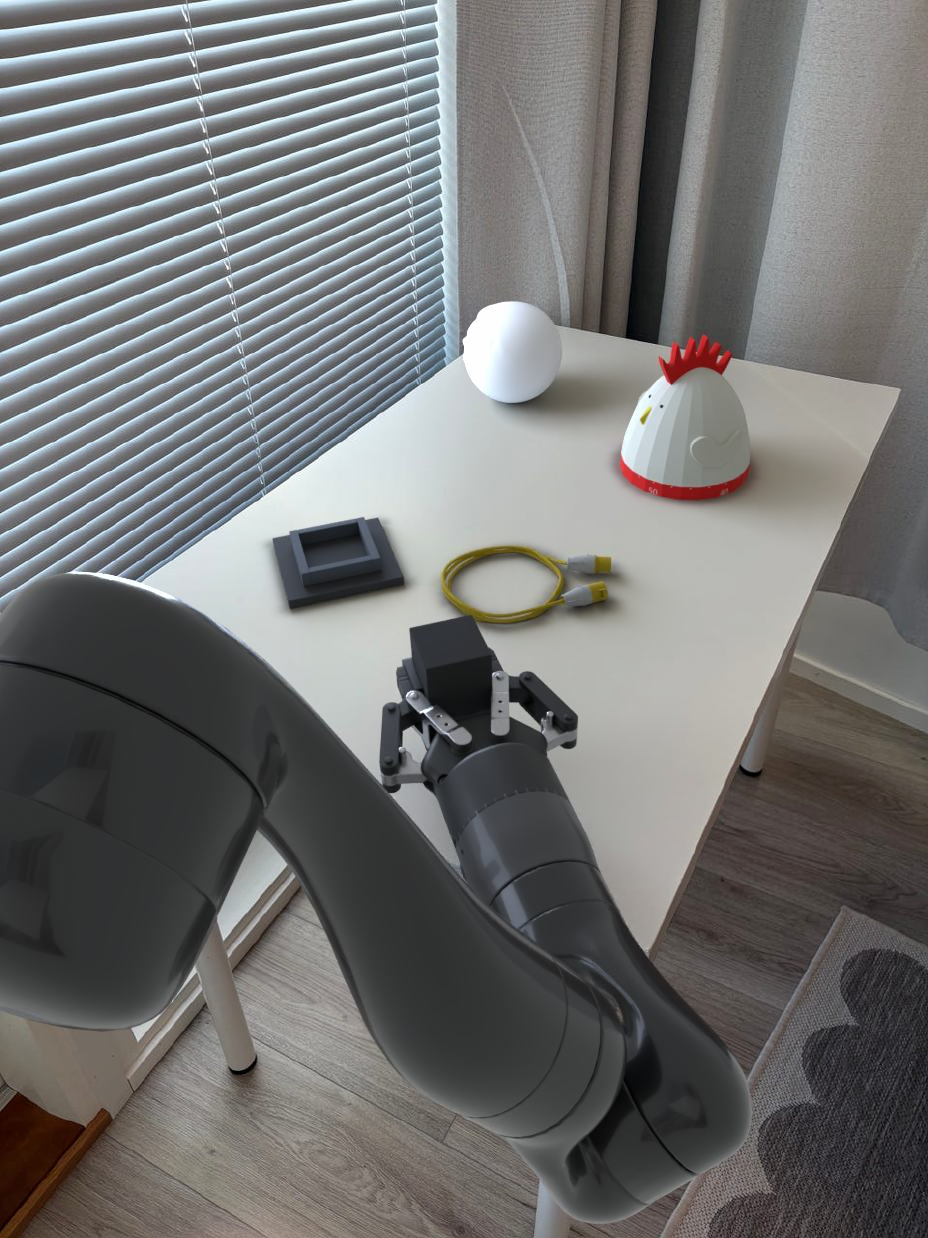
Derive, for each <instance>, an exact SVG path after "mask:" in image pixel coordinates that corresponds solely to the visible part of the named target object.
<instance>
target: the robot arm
mask: <svg viewBox="0 0 928 1238" xmlns="http://www.w3.org/2000/svg"><path fill="white" fill-rule="evenodd" d="M488 648H489V650H490V652H491V654H492V685H491V708H490V709H486V710H482V711H479V712H477V713H474V714H472V715H470V716H457V717H452V718H451V717H450V716H449V715H448V714H447V713H446V712H445V711H444V710H443V708H442V707H441V706H439V705H438V704H437V705H434V704H433V703H432V702H431V701H430V700H428V698H427V697H426V696H425V695H424V691H423V686H422V684H421V681H420V678H419V676H418V673H417V671H416V668H415V666H414V663H413V661H412V656H411V657H406V658H402V659H401V666H397V667H396V670H395V677H396V685H397V690H398V693H399V695H400V698H401V701H399V702H398V703H397V702H395V701H391V702H387V703H385V704H384V705H383V706H382V710H381V712H382V713H381V726H380V730H381V731H380V741H379V742H380V743H379V761H378V763H379V764H378V765H379V770H380V779H381V782H380V781H379V780H378V779H377V778H376V777H375V775H374V774H373V773H372V772H371V771H370V770H369V769H368V768H367V767H366V766H365V765H364V764H363V762H362V761H361V760H360V759H359V757H357V755H355V754H354V752H353V751H352V750H351V749H350V747H348V746H347V745H346V743H345V742H344V741H343V740H342V739H341V738H340V736H339V735H338V734H337V733H336V732H335V731H334V730H333V729H332V728H331V726H330V725H329V724H328V723H327V722H326V721H325V720H324V718H323V717H321V715H320V714H319V713H318V712H317V711H316V710H315V709H314V707H313V706H312V705H311V704H310V703H309V702H308V701H307V700H306V699H305V698H304V697H303V695H301V693H300V692H298V690H297V689H296V688H295V687H294V686H293V685H292V684H291V683H290V682H289V681H288V680H287V679H286V677H284V676H283V675H281V673H280V672H278V670H276V669H275V667H273V666H272V665H271V664H270V663H269V662H268V661H267V660H266V659H264V658H263V657H262V656H261V655H260V654H258V653H257V652H256V651H255V650H254V649H253V648H252V647H250V646H249V645H248V644H247V643H246V642H244V641H243V640H242V639H241V638H240V637H238V636H237V635H236V634H234V632H232V631H231V630H230V629H228V628H227V627H226V626H224V625H223V624H221V623H219V622H218V621H216V620H214V618H211V617H210V616H209V615H207V614H205V613H203V612H202V611H200V610H199V609H197V608H196V607H193V606H192V605H190V604H189V603H187V602H185V601H184V600H182V599H180V598H178V597H176V596H173V595H171V594H169V593H167V592H164V591H162V590H159V589H157V588H155V587H153V586H151V585H148V584H146V583H143V582H139V581H137V580H136V581H135V580H132V579H128V578H123V577H120V576H117V575H113V574H109V573H97V572H83V571H70V572H64V573H57V574H51V575H47V576H42V577H41V578H38V579H37V580H35V581H33V582H31V583H29V584H27V586H25V587H24V588H23V589H22V590H21V591H20V592H18V594H16V595H15V596H14V597H13V598H12V600H11V601H10V603H9V604H8V605H7V606H6V607H5V609H3V611H2V612H1V613H0V1012H3V1013H6V1014H9V1015H12V1016H15V1017H17V1018H18V1017H19V1018H22V1019H25V1020H28V1021H31V1022H36V1023H41V1024H46V1025H49V1026H54V1027H58V1028H64V1029H68V1030H69V1029H70V1030H77V1031H79V1030H81V1031H89V1032H101V1033H103V1032H104V1033H105V1032H113V1031H122V1030H129V1029H133V1028H136V1027H139V1026H142V1025H144V1024H146V1023H148V1022H150V1021H152V1020H154V1019H156V1018H157V1017H158V1016H160V1015H161V1014H162V1013H163V1012H164V1011H165V1010H166V1009H167V1008H168V1007H169V1006H170V1005H171V1004H172V1002H173V1001H174V999H175V998H176V996H177V995H178V993H179V992H180V991H181V989H182V988H183V986H184V984H185V983H186V981H187V980H188V978H189V976H190V974H191V973H192V971H193V969H194V968H195V966H196V964H197V962H198V960H199V957H200V956H201V953H202V951H203V950H204V948H205V946H206V944H207V942H208V940H209V938H210V935H211V934H212V932H213V930H214V928H215V925H216V923H217V921H218V915H219V913H220V912H221V910H222V907H223V905H224V904H225V901H226V899H227V897H228V894H229V892H230V890H231V888H232V885H233V884H234V881H235V879H236V877H237V875H238V872H239V870H240V868H241V867H242V864H243V861H244V859H245V857H246V855H247V853H248V850H249V848H250V847H251V844H252V842H253V840H254V838H255V835H256V833H257V832H258V833H259V834H260V835H262V837H263V838H264V839H265V840H266V841H267V842H269V845H271V846H272V847H273V848H274V850H275V851H276V852H277V854H279V856H280V857H281V858H282V860H284V862H285V863H286V866H288V868H289V869H290V871H291V872H292V873H293V875H294V876H295V878H296V880H297V881H298V883H299V886H300V887H301V889H302V890H303V892H304V894H305V896H306V897H307V899H308V901H309V903H310V904H311V906H312V908H313V910H314V912H315V914H316V916H317V918H318V920H319V923H320V925H321V927H322V930H323V932H324V934H325V936H326V938H327V940H328V942H329V945H330V947H331V949H332V952H333V954H334V957H335V959H336V962H337V964H338V966H339V969H340V972H341V975H342V976H343V979H344V981H345V983H346V985H347V989H348V990H349V992H350V994H351V997H352V999H353V1001H354V1003H355V1006H356V1008H357V1010H358V1012H359V1013H358V1014H359V1015H360V1017H361V1019H362V1022H363V1024H364V1025H365V1027H366V1029H367V1031H368V1033H369V1035H370V1037H371V1038H372V1040H373V1041H374V1043H375V1044H376V1046H377V1048H378V1049H379V1050H380V1052H381V1053H382V1055H383V1056H384V1058H385V1059H386V1060H387V1062H388V1063H389V1064H390V1065H391V1066H392V1068H393V1069H394V1070H395V1071H396V1073H397V1074H398V1075H399V1076H400V1077H402V1079H403V1080H405V1081H406V1082H407V1083H408V1084H409V1085H410V1086H412V1087H413V1088H414V1089H415V1090H416V1091H418V1092H419V1093H420V1095H422V1096H424V1097H426V1098H427V1099H429V1100H430V1101H432V1102H433V1103H435V1104H436V1105H439V1106H441V1107H443V1108H445V1109H447V1110H448V1111H451V1112H452V1113H454V1114H457V1115H459V1116H461V1117H463V1118H465V1119H467V1120H469V1121H471V1122H472V1123H475V1124H477V1125H479V1126H481V1127H482V1128H484V1129H487V1130H488V1131H490V1132H492V1133H495V1134H497V1135H499V1136H501V1137H502V1138H503V1139H504V1140H505V1141H506V1143H508V1144H509V1146H511V1148H512V1149H513V1150H514V1152H516V1153H517V1154H518V1155H519V1156H520V1157H521V1159H522V1160H523V1161H524V1162H525V1163H526V1165H527V1166H528V1167H529V1168H530V1170H531V1171H533V1173H534V1174H535V1175H536V1176H537V1178H538V1180H539V1181H540V1182H541V1184H542V1186H543V1187H544V1188H545V1190H546V1191H547V1193H548V1194H549V1195H550V1197H551V1199H552V1200H553V1201H554V1202H555V1203H556V1204H557V1205H558V1207H559V1208H560V1209H561V1210H562V1211H563V1212H564V1213H565V1214H567V1215H568V1216H570V1217H571V1218H572V1219H574V1220H577V1221H580V1222H582V1223H587V1224H596V1225H600V1224H602V1225H603V1224H605V1225H606V1224H612V1223H616V1222H617V1223H618V1222H621V1221H623V1220H626V1219H629V1218H630V1217H632V1216H634V1215H635V1214H636V1215H637V1213H639V1212H641V1211H642V1210H644V1209H646V1208H648V1207H649V1206H651V1205H652V1204H653V1203H654V1202H656V1201H658V1200H660V1199H662V1198H663V1197H665V1196H667V1195H668V1194H670V1193H672V1192H673V1191H675V1190H677V1189H679V1188H681V1187H682V1186H684V1185H686V1184H687V1183H689V1182H690V1181H692V1180H694V1179H696V1178H697V1177H699V1176H700V1175H702V1174H704V1173H705V1172H708V1171H709V1170H711V1169H713V1168H714V1167H716V1166H717V1165H719V1164H721V1163H723V1162H724V1161H726V1160H727V1159H729V1158H730V1157H732V1156H733V1155H734V1154H736V1153H737V1152H738V1151H739V1150H740V1149H742V1147H743V1146H744V1144H745V1142H746V1141H747V1139H748V1138H749V1135H750V1131H751V1128H752V1120H753V1103H752V1095H751V1091H750V1086H749V1082H748V1079H747V1077H746V1074H745V1072H744V1070H743V1067H742V1066H741V1064H740V1062H739V1060H738V1058H737V1057H736V1055H735V1054H734V1052H732V1050H731V1049H730V1048H729V1046H728V1045H727V1044H726V1043H725V1042H724V1041H723V1039H722V1038H721V1037H720V1035H718V1033H717V1032H716V1031H715V1030H714V1029H713V1028H712V1027H711V1026H710V1025H709V1024H708V1022H706V1020H704V1018H703V1017H702V1016H701V1015H699V1013H698V1012H697V1011H696V1010H695V1009H693V1007H692V1006H691V1004H689V1003H688V1002H687V1001H686V1000H685V999H684V998H683V997H682V996H681V995H680V994H679V993H678V991H676V989H675V988H674V987H673V986H672V985H671V984H670V982H669V981H668V980H667V979H666V978H665V977H664V975H662V973H661V972H660V970H659V969H658V968H657V967H656V966H655V964H654V963H653V962H652V960H651V959H650V958H649V956H648V955H647V954H646V953H645V951H644V950H643V948H642V947H641V945H640V944H639V942H638V941H637V939H636V938H635V936H634V934H633V933H632V931H631V930H630V928H629V926H628V924H627V923H626V920H625V919H624V916H623V914H622V912H621V910H620V907H619V906H618V904H617V902H616V900H615V898H614V896H613V895H612V892H611V890H610V888H609V886H608V884H607V882H606V880H605V878H604V876H603V874H602V872H601V869H600V867H599V864H598V861H597V858H596V854H595V852H594V849H593V846H592V844H591V840H590V839H589V837H588V835H587V832H586V830H585V828H584V827H583V824H582V822H581V820H580V819H579V816H578V814H577V813H576V811H575V808H574V806H573V805H572V803H571V801H570V799H569V797H568V795H567V792H566V790H565V789H564V786H563V784H562V782H561V781H560V778H559V776H558V774H557V773H556V771H555V769H554V767H553V764H552V763H551V760H550V758H549V757H548V752H549V751H551V750H553V749H555V748H557V747H561V748H562V749H565V750H572V749H574V748H576V746H577V744H578V730H579V729H578V727H579V715H578V714H577V713H576V712H575V711H574V710H573V709H572V708H571V707H569V705H568V704H567V703H565V702H564V700H563V699H562V698H561V697H560V696H559V695H557V693H555V692H554V691H553V689H551V688H550V687H549V686H548V685H547V684H546V683H545V682H544V681H543V679H541V678H540V677H538V676H537V674H535V673H534V672H532V671H529V670H527V671H522V672H520V674H519V675H517V676H515V675H509V673H508V672H506V671H504V669H503V667H502V665H501V662H500V661H499V659H498V657H497V655H496V652H495V651H494V650H493V649H492V648H491V647H489V646H488ZM510 703H512V704H517V703H518V705H519V706H520V707H521V708H522V709H523V710H524V712H526V713H527V714H528V715H529V716H530V717H531V718H532V719H533V720H534V721H535V723H537V724H538V725H539V726H540V731H539V730H538V729H536V728H534V727H531V726H529V725H528V724H525V723H524V722H522V721H519V720H518V719H515V718H513V717H512V716H510ZM409 728H412V730H414V732H416V734H417V735H418V736H419V737H420V738H421V740H422V739H423V740H422V742H423V741H424V743H423V745H424V744H425V745H424V747H425V746H426V747H427V749H428V750H427V751H426V752H425V754H424V757H423V758H422V761H421V762H417V761H416V760H414V759H413V756H412V753H411V752H409V751H408V750H407V749H406V748H405V747H404V745H403V743H404V740H403V739H404V731H406V730H408V729H409ZM406 784H407V785H409V784H422V785H423V786H424V788H425V789H426V790H428V791H429V792H430V793H432V794H433V796H434V797H435V798H436V800H437V803H438V805H439V808H440V811H441V813H442V816H443V820H444V822H445V825H446V827H447V830H448V833H449V836H450V838H451V841H452V844H453V847H454V850H455V853H456V856H457V858H458V861H459V869H460V872H461V874H462V876H463V877H462V876H460V874H459V873H458V872H457V871H456V870H455V868H454V867H453V866H452V865H451V863H449V862H448V860H447V859H446V858H445V857H444V856H443V854H442V853H441V852H440V851H439V850H438V849H437V848H436V846H435V845H434V844H433V843H432V841H431V840H430V839H429V838H428V837H427V836H426V834H425V833H424V831H422V829H421V828H420V826H418V825H417V823H416V822H415V821H414V820H413V819H412V818H411V817H410V815H409V814H408V813H407V812H406V811H405V809H403V807H402V806H401V805H400V804H399V803H398V802H397V800H396V799H395V798H394V797H393V796H392V794H395V793H398V792H399V791H400V790H401V788H402V785H406ZM615 1008H618V1009H619V1011H620V1014H621V1017H622V1020H620V1016H619V1015H618V1013H617V1011H616V1009H615Z"/></svg>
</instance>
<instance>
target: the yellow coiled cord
mask: <svg viewBox="0 0 928 1238" xmlns="http://www.w3.org/2000/svg"><path fill="white" fill-rule="evenodd" d="M508 553H509V554H510V553H519V554H524V555H527V556H530V557H531V558H533V559H536V560H537V561H538V562H541V564H543V565H545V566H546V567H547V568H549V569H550V570H551V571H552V572H553V573H554V574H555V575H556V576H557V577H558V583H557V586H556V587H555V590H554V591H553V593H552V595H551V596H550V597H549V599H547V601H545V603H544V604H541V605H539V606H535V607H530V608H527V609H524V610H520V611H515V612H508V613H492V612H486V611H482V610H480V609H478V608H475V607H472V606H470V605H469V604H467V603H465V602H464V601H462V600H460V599H459V598H457V597H456V596H455V595H454V594H453V592H452V587H451V586H452V581H453V579H454V577H455V576H456V574H457V573H459V571H460V570H462V569H463V568H464V567H465V566H467V565H469V564H470V563H472V562H474V561H477V560H479V559H481V558H484V557H488V556H490V555H491V556H492V555H497V554H508ZM555 563H556V564H559V565H563V566H566V569H567V570H568V571H569V570H570V571H573V572H577V573H582V574H586V575H588V574H595V575H596V574H597V573H599V574H600V573H601V574H602V573H603V574H611V571H612V556H597V554H588V553H587V554H583V555H582V554H581V555H577V556H570V557H569V556H568V557H567V560H560V559H557V558H553V557H550V556H547V555H543V554H542V553H540V551H537V550H536V549H534V548H530V547H528V546H522V545H495V546H488V547H487V546H486V547H482V548H478V549H474V550H471V551H470V550H469V551H468V552H465V553H462V554H460V555H458V556H456V557H454V558H453V559H451V560H450V561H449V562H447V563H446V565H445V566H444V567H443V569H442V572H441V574H440V575H441V576H440V581H441V585H440V586H441V591H442V593H443V594H444V596H445V598H447V600H448V601H450V603H452V604H453V605H454V606H455V607H456V608H457V609H458V610H459V611H461V612H462V613H463V614H465V616H468V615H472V616H473V618H474V620H475V621H479V622H483V623H496V624H509V623H510V624H511V623H516V622H522V621H526V620H530V619H533V618H536V617H538V616H540V615H542V614H543V613H544V612H545V611H547V610H548V609H549V608H551V607H554V606H557V605H561V606H562V607H563V608H566V607H568V608H569V607H585V606H588V605H591V604H595V603H599V602H601V601H602V602H603V601H605V600H608V597H609V592H608V587H607V585H606V583H605V582H604V581H603V580H601V581H598V582H593V583H589V584H586V585H585V584H584V585H578V586H577V587H575V588H573V589H571V590H569V591H567V592H565V593H563V594H561V593H562V591H563V588H564V584H565V579H564V576H563V573H562V571H561V570H560V569H559V568H558V566H557V565H555ZM451 572H452V573H451ZM448 576H449V577H448ZM447 578H448V580H447ZM446 580H447V582H446ZM446 583H447V584H446ZM560 594H561V595H560ZM559 596H560V597H559ZM558 597H559V598H560V599H559V600H557V599H558ZM517 616H518V617H517Z"/></svg>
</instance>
